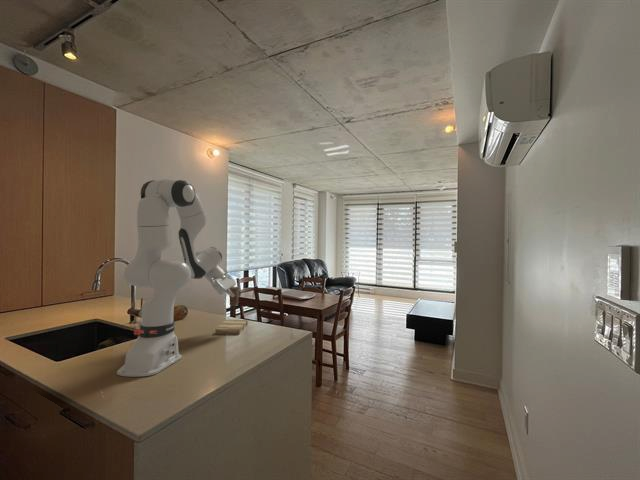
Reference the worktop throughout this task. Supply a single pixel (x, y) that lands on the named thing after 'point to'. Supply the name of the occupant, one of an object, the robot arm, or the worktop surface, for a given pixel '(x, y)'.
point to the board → (231, 327)
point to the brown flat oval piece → (180, 312)
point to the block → (234, 299)
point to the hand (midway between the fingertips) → (235, 295)
